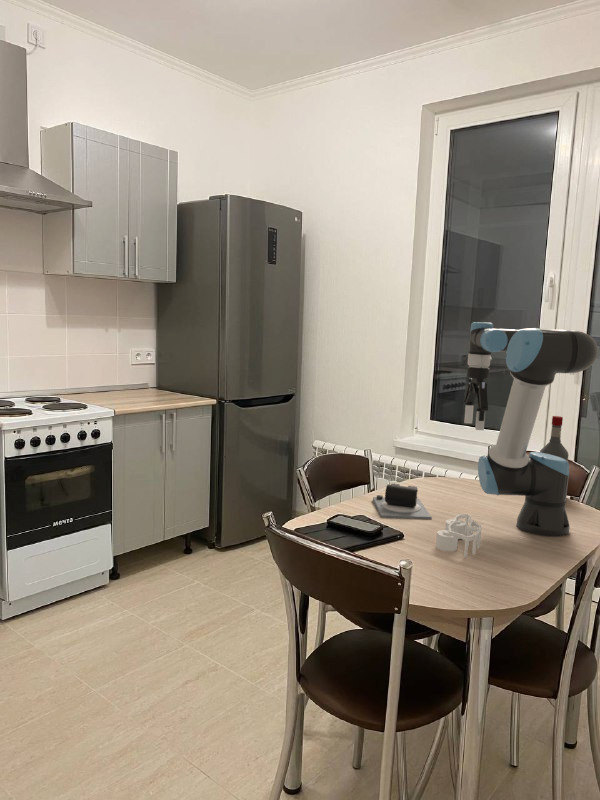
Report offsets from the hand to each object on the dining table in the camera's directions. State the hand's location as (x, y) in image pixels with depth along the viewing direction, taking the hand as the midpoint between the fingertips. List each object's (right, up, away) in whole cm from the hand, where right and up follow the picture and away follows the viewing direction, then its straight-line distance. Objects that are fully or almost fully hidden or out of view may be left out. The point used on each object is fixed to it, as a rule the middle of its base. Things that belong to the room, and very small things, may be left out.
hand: (473, 426), depth 220 cm
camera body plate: (-28, -27, -13) cm, 41 cm away
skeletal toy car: (-16, -33, -45) cm, 58 cm away
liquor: (+33, -27, +14) cm, 44 cm away
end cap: (-28, -26, -13) cm, 40 cm away
